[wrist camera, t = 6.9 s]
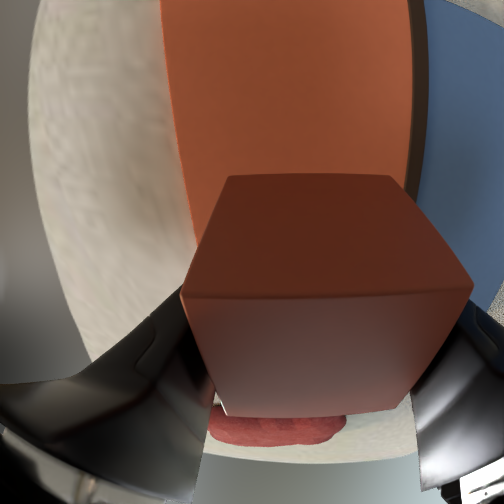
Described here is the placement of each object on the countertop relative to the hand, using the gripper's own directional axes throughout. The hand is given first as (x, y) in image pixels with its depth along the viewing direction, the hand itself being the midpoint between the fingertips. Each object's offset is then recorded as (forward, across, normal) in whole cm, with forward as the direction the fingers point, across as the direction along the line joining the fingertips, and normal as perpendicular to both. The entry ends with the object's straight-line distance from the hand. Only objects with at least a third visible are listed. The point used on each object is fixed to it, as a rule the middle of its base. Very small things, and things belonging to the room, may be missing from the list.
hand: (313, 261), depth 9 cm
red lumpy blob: (+5, +2, +28) cm, 28 cm away
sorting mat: (+5, -5, 0) cm, 7 cm away
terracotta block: (+1, 0, 0) cm, 1 cm away
